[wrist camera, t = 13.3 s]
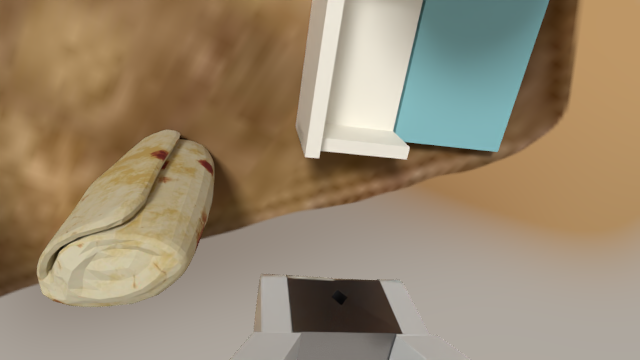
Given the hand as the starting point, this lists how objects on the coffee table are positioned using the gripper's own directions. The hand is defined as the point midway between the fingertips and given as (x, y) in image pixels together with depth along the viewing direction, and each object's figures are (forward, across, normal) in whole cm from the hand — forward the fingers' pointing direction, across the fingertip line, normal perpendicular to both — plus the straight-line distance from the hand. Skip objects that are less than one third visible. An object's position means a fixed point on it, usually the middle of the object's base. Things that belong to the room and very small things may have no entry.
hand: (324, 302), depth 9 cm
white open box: (+33, -8, -3) cm, 34 cm away
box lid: (+32, -13, -3) cm, 35 cm away
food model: (+33, +9, +10) cm, 36 cm away
